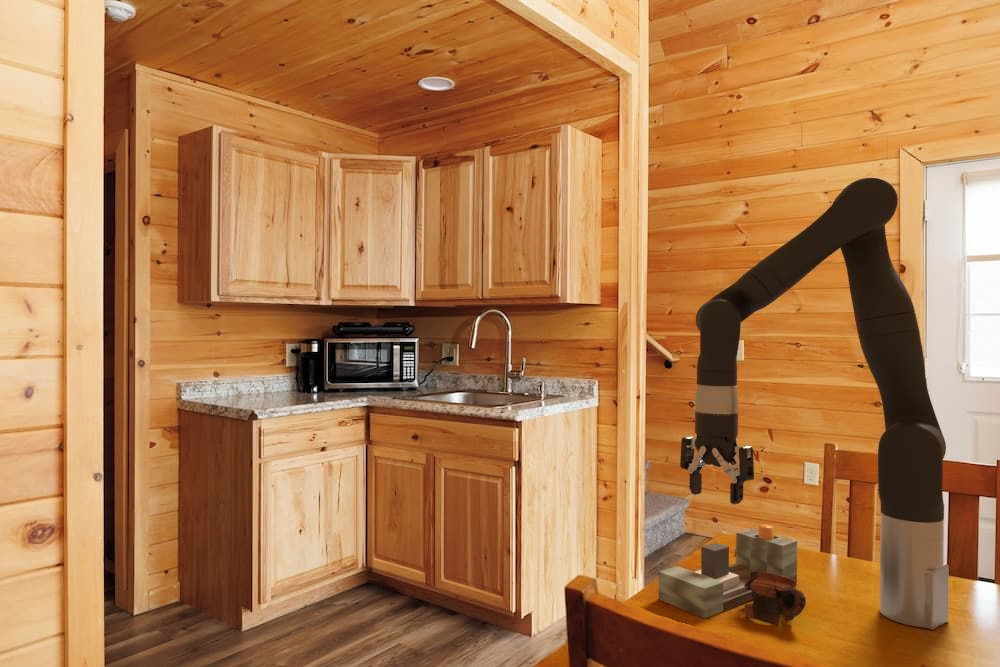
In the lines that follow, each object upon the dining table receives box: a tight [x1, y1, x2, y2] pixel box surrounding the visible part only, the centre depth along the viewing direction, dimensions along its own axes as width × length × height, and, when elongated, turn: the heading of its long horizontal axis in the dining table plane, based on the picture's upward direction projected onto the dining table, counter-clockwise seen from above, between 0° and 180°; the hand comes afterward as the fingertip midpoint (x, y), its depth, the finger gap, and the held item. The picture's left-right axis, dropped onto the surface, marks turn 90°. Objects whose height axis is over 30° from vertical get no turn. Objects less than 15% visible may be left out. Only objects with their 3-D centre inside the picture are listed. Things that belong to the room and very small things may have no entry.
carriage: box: [694, 542, 739, 592], centre depth 125 cm, size 6×6×7 cm
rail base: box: [658, 528, 798, 619], centre depth 128 cm, size 10×28×8 cm, turn 126°
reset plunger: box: [758, 524, 775, 541], centre depth 134 cm, size 3×3×6 cm
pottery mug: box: [744, 571, 807, 626], centre depth 116 cm, size 12×10×8 cm
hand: (715, 498), depth 125 cm, fingers open, 8 cm apart
